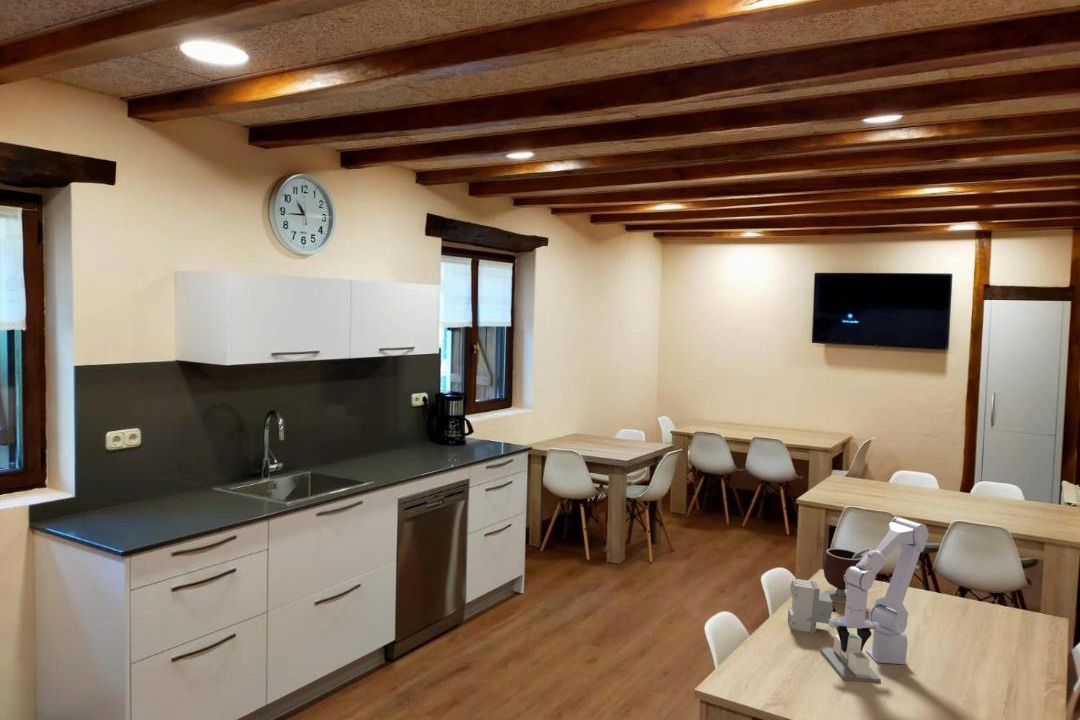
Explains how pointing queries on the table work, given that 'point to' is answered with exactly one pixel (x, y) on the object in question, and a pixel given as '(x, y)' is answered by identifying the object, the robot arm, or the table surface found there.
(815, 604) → the circuit breaker
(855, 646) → the block
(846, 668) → the board
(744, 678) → the table surface
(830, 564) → the mate gourd
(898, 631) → the robot arm
